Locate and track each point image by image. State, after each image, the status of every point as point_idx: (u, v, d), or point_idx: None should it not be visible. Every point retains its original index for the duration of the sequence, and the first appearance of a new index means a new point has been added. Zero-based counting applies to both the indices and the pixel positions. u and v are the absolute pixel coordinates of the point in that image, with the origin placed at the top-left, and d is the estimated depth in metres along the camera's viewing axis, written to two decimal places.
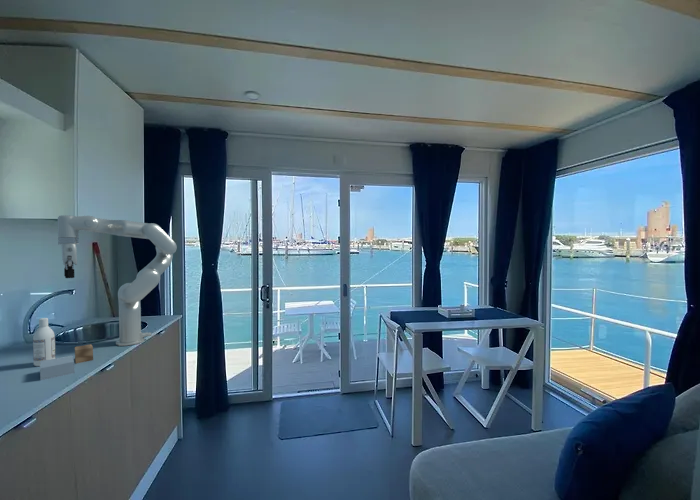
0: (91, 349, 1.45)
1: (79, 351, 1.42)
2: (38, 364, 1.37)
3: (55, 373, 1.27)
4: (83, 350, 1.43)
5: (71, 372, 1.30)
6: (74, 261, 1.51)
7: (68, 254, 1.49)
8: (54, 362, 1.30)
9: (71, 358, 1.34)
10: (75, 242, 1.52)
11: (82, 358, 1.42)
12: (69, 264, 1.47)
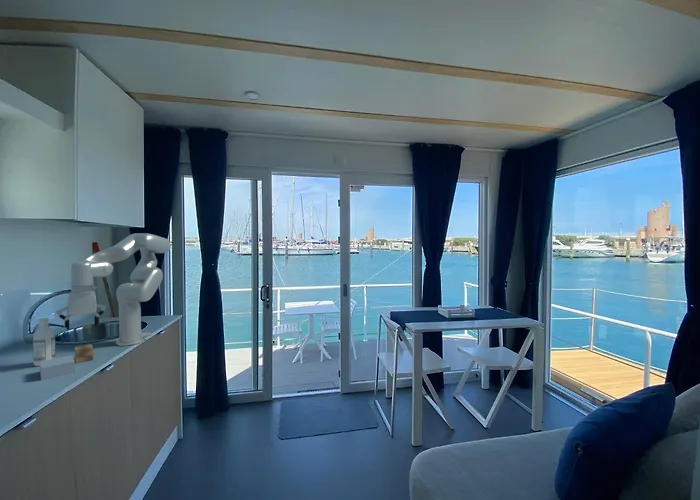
0: (91, 349, 1.45)
1: (79, 351, 1.42)
2: (38, 364, 1.37)
3: (56, 373, 1.27)
4: (83, 350, 1.43)
5: (72, 372, 1.31)
6: None
7: None
8: (54, 362, 1.30)
9: (71, 358, 1.34)
10: None
11: (82, 358, 1.42)
12: (104, 310, 1.50)
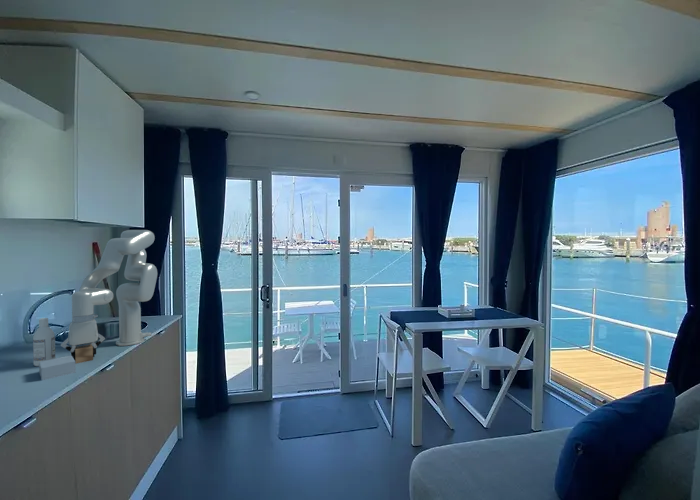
0: (91, 349, 1.45)
1: (79, 351, 1.42)
2: (38, 364, 1.37)
3: (57, 373, 1.27)
4: (83, 350, 1.43)
5: (72, 372, 1.31)
6: None
7: (97, 331, 1.48)
8: (54, 362, 1.30)
9: (71, 358, 1.35)
10: None
11: (81, 358, 1.42)
12: None
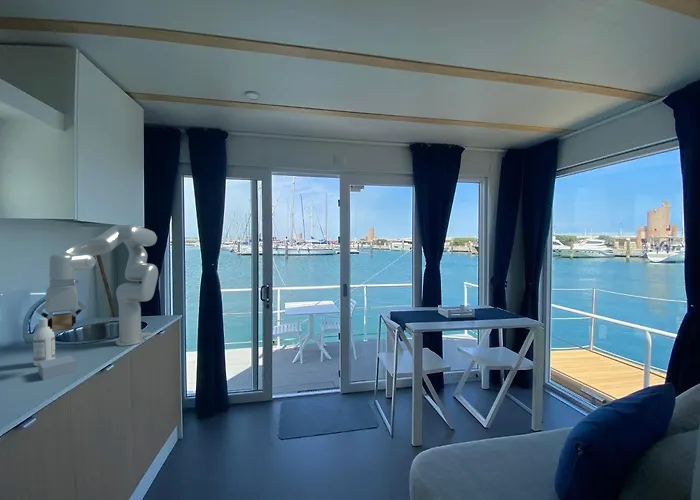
0: (70, 317, 1.33)
1: (56, 318, 1.30)
2: None
3: (58, 373, 1.28)
4: (61, 317, 1.31)
5: (73, 371, 1.31)
6: None
7: None
8: (54, 362, 1.30)
9: (71, 358, 1.35)
10: None
11: (59, 326, 1.31)
12: None
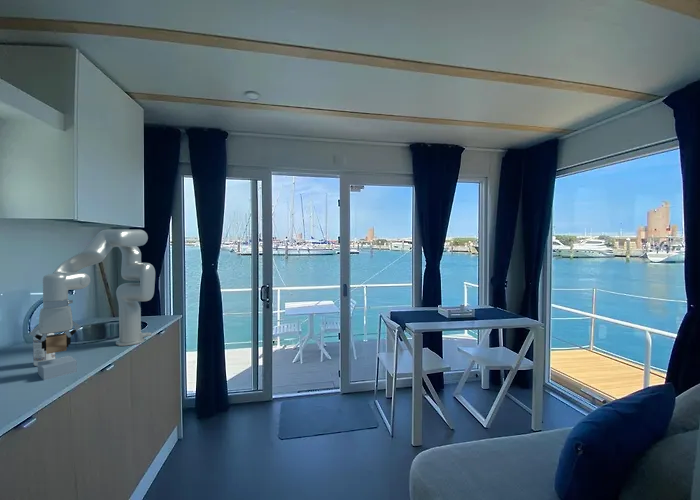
0: (64, 338, 1.30)
1: (50, 340, 1.27)
2: None
3: (58, 373, 1.28)
4: (55, 339, 1.28)
5: (74, 371, 1.31)
6: None
7: None
8: (54, 362, 1.30)
9: (70, 358, 1.35)
10: None
11: (53, 348, 1.28)
12: None
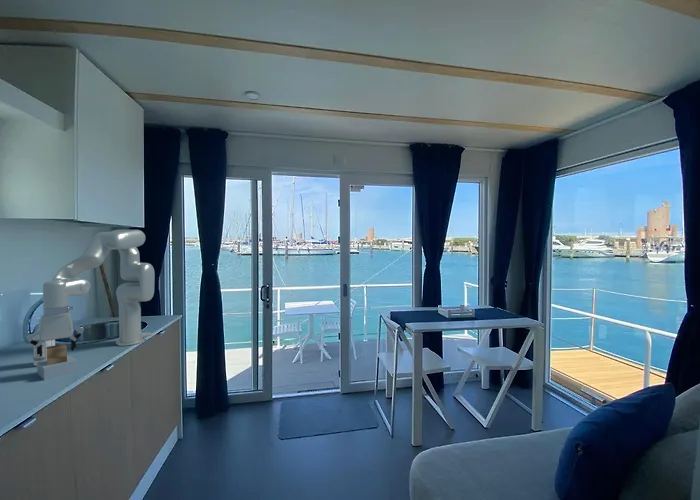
0: (65, 349, 1.30)
1: (51, 352, 1.28)
2: None
3: (59, 373, 1.28)
4: (55, 350, 1.29)
5: (74, 371, 1.32)
6: None
7: (72, 323, 1.34)
8: None
9: (70, 358, 1.35)
10: None
11: (54, 360, 1.28)
12: None
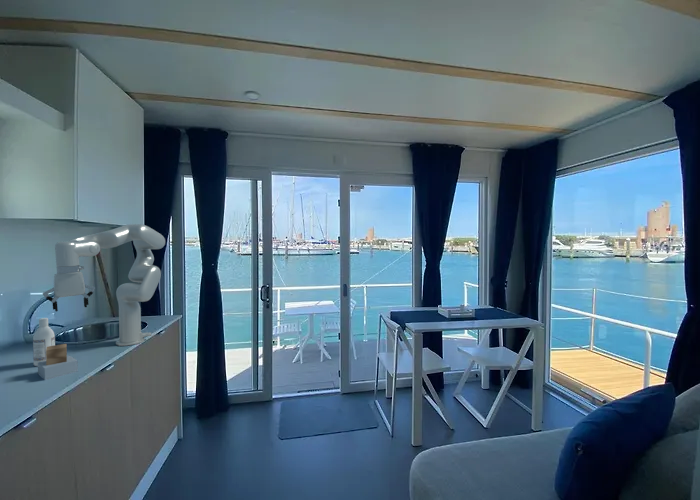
0: (64, 349, 1.30)
1: (50, 352, 1.28)
2: None
3: (59, 373, 1.28)
4: (55, 350, 1.29)
5: (74, 371, 1.32)
6: None
7: None
8: None
9: (71, 358, 1.35)
10: None
11: (53, 360, 1.28)
12: (93, 291, 1.45)
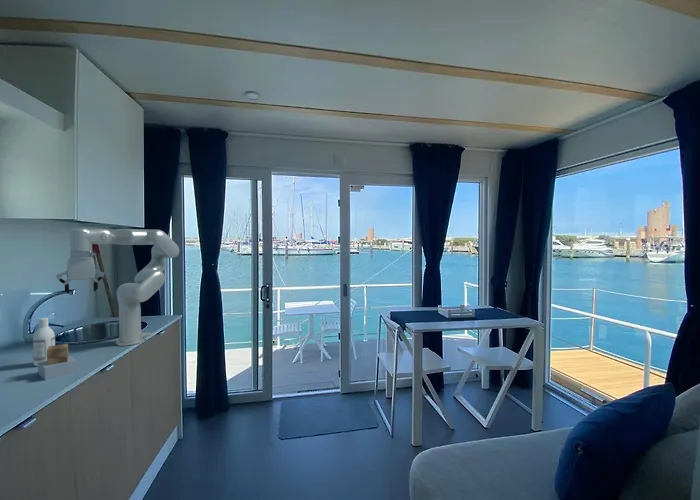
0: (65, 349, 1.30)
1: (51, 352, 1.28)
2: None
3: (60, 373, 1.28)
4: (56, 350, 1.29)
5: (75, 371, 1.32)
6: None
7: (94, 267, 1.52)
8: None
9: (71, 358, 1.35)
10: None
11: (54, 360, 1.28)
12: None
